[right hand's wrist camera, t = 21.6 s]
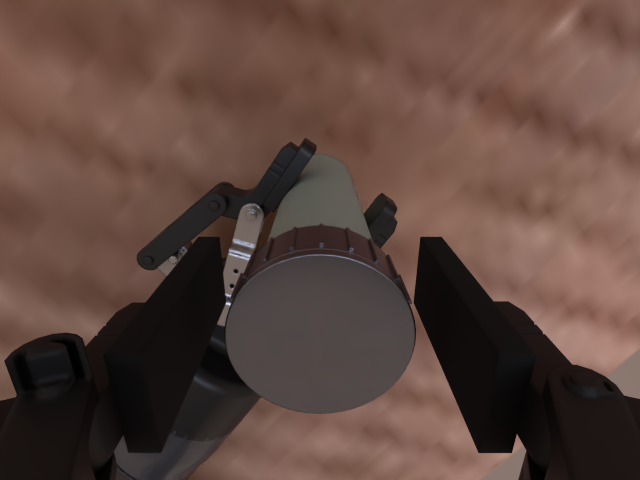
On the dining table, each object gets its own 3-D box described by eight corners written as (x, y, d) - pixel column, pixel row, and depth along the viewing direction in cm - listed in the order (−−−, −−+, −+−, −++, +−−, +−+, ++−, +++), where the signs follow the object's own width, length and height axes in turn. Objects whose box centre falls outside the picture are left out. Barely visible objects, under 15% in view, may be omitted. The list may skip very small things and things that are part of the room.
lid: (436, 274, 12) (460, 312, 10) (345, 388, 14) (350, 440, 12) (288, 189, 11) (281, 212, 9) (210, 324, 13) (189, 369, 11)
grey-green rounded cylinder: (365, 186, 26) (426, 322, 11) (319, 228, 27) (319, 403, 12) (320, 139, 25) (320, 221, 10) (274, 186, 26) (213, 320, 11)
